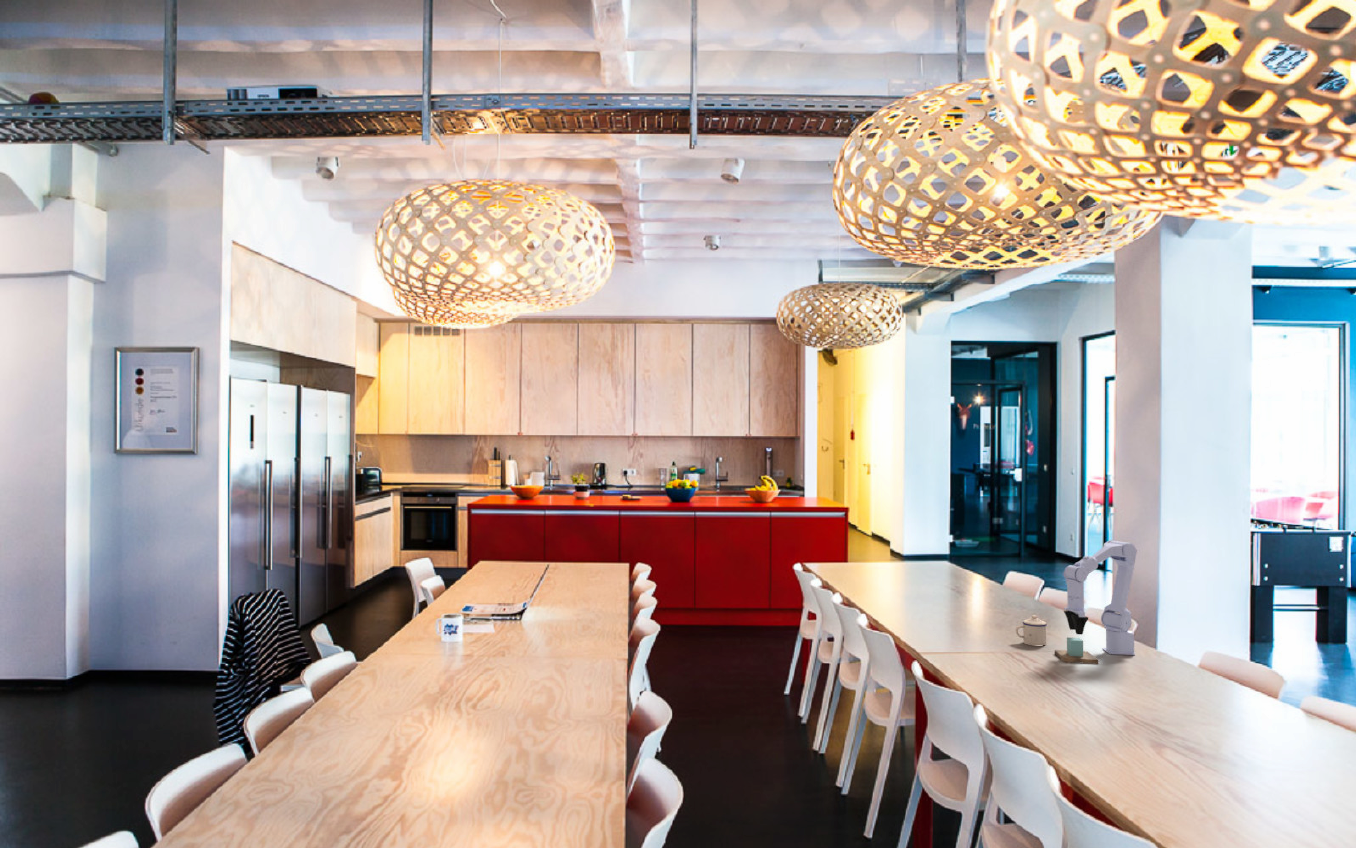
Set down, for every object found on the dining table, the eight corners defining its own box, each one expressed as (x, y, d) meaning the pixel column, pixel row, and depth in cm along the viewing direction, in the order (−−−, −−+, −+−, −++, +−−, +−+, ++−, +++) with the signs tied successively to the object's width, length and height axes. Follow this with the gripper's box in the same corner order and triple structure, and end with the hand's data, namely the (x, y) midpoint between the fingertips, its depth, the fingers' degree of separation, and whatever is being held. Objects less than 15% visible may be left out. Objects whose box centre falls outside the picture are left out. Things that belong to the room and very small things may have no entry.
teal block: (1079, 653, 304) (1079, 638, 305) (1083, 656, 300) (1083, 640, 300) (1067, 653, 305) (1066, 637, 305) (1070, 656, 301) (1070, 640, 301)
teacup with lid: (1043, 641, 329) (1042, 613, 329) (1049, 647, 320) (1049, 618, 320) (1012, 640, 330) (1012, 612, 331) (1019, 646, 321) (1018, 617, 322)
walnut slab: (1087, 655, 307) (1087, 651, 307) (1098, 663, 296) (1098, 659, 296) (1054, 653, 309) (1054, 650, 309) (1064, 662, 298) (1064, 658, 298)
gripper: (1058, 593, 313) (1059, 627, 313) (1070, 600, 299) (1071, 636, 298) (1077, 593, 312) (1078, 627, 312) (1090, 600, 298) (1091, 636, 297)
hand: (1076, 631), depth 305 cm, fingers open, 7 cm apart
